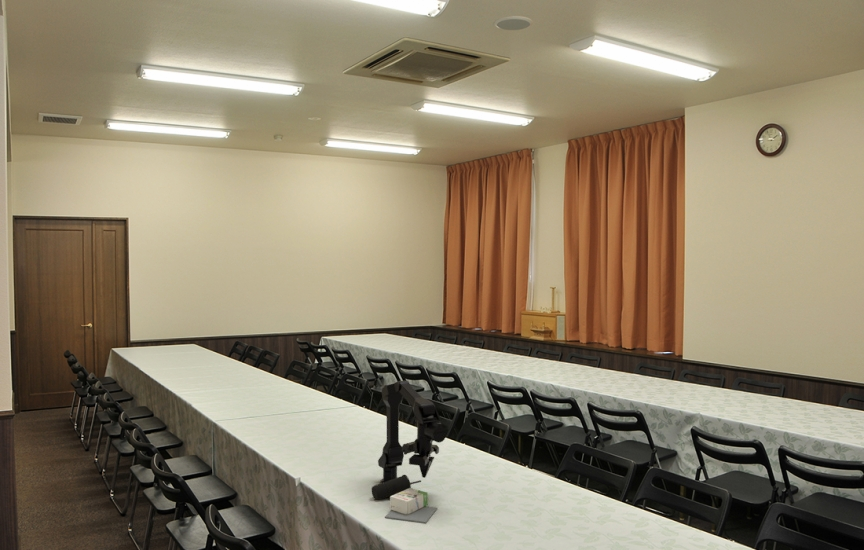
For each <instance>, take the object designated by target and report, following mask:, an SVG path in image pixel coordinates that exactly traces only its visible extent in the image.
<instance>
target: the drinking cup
mask: <svg viewBox="0 0 864 550" xmlns="http://www.w3.org/2000/svg"><path fill="white" fill-rule="evenodd" d="M421 482H422V480H417V481H410V479H409V477H408V475H406V474H402V475H401V476H397V478H395V479H392V480H389V481H387V482H380V483H378V484H376V485H373V486H372V487H371V494H372V498H373V499H374V500H380V499H381V500H382V499H386V498H390V496H392V495H395V494H397V493H399V492H402V491H404V490H406V489H409V488H412V485H414V484H418V483H421Z"/></svg>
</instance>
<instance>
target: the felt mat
mask: <svg viewBox="0 0 864 550" xmlns="http://www.w3.org/2000/svg"><path fill="white" fill-rule="evenodd" d="M437 510H438V507H436V506H435V507H434V506H430V505H429V506H428V505H426V506H424V507H422V508H420V509H418V510H416V511H414V512H412V513H410V514H408V515H407V514H403V513H400V512H397V511H393V510H391V509H390V511H389V512H388V513H386V515H385V516H384V518H385V519H388V520H389V519H391V520H396V521H404V522H412V523H413V522H414V523H418V524H419V523H421V524H427V523H428V522H429V520H430V519H431V518H432V517H433V515H435V513H436V511H437Z"/></svg>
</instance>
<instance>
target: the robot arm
mask: <svg viewBox="0 0 864 550" xmlns="http://www.w3.org/2000/svg"><path fill="white" fill-rule="evenodd" d="M381 396H382V401H383V403H384V405H386V442H385V444H384V446H383V448H382V453H381V455H380V457H379V458H378V460H377V463H378V466H379V468H381V469H382V478H381V480H380V481H379V482H380V483H384V482H387V481H389V480H392V479H395V478H398V467H399V466H403V461H404V456H405V455H407V454H410V453H413V455H411V457H409V458H408V464H409V465H413V466H418V467H419V469H420V473H421V477H422V478H427V476H428V473H429V471H430V469H431V466H432V463H433V462H434V459H435V456H432V455H431V454H432V453H434V454H435V455H438V454H439V453H440V447H439V446H438V445H437V444H433V442H436V443H442V442H444V440H445V439H446V437H447V431H446V430H447V429H446V428H445V427H443V423H441V419H440V414H439V413H438V410H437V407H436V405H435V403H434V402H433V401H431V399H427V398H424V397H422V396H421V395H420V394H419V393H418V392H417V391H416V390H415V389H414V388H413V387H412V386H411V384H410V382H409V381H408V380H398V381H396V382H394V383H391V384H386V385H384V386H383V387H382V389H381ZM403 398H404V399H405V400H406V401H407V403H409V404H410V405H411V407H412V413H414V415H415V417H416V418H415V419H414V422H415V423H417V425H416V426H417V427H416V428H417V429H416V430H417V433H416V434H417V435H416V438H415V439H414V440H413V441H411V442H406V443H403V444H402V445H401V443H400V441H399V434H400V433H399V430H400V428H399V427H400V426H399V425H400V423H399V422H400V421H399V420H400V419H399V416H400V415H399V412H400V411H399V407H400V404H401V403H402V401H403Z"/></svg>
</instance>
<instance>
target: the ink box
mask: <svg viewBox="0 0 864 550" xmlns="http://www.w3.org/2000/svg"><path fill="white" fill-rule="evenodd" d="M428 497H429V496H428V492H427V491H425V490H424V491H423V490H419V489H415V488H412V487H411V488H409V489H406V490H404V491H402V492H399V493H397V494H395V495H392V496H390V497H389V510H390V511H391V510H393V511H397V512H400V513H403V514H407V515H408V514H410V513H412V512H414V511H416V510H418V509H420V508H422V507H424V506H428Z"/></svg>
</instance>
